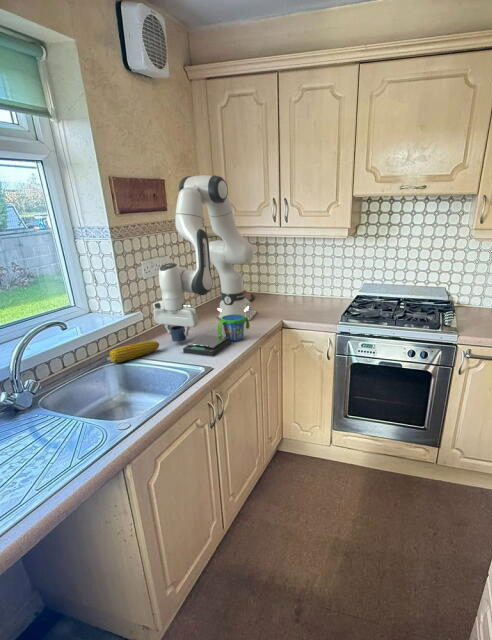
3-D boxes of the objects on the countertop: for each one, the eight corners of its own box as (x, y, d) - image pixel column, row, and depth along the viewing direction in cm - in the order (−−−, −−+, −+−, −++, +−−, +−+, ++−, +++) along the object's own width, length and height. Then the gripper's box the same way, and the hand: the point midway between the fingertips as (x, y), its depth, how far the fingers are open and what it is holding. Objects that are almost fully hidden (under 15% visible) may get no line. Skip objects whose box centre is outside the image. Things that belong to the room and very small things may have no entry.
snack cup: (244, 332, 192) (242, 311, 188) (255, 338, 184) (254, 316, 180) (214, 339, 184) (211, 317, 180) (224, 345, 176) (222, 323, 172)
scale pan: (203, 335, 181) (203, 334, 181) (227, 338, 177) (227, 336, 177) (187, 345, 170) (187, 343, 170) (213, 348, 166) (213, 346, 166)
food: (116, 366, 157) (113, 351, 155) (109, 363, 160) (105, 348, 158) (162, 350, 172) (160, 337, 169) (155, 348, 175) (152, 334, 173)
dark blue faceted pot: (177, 336, 183) (175, 325, 180) (189, 337, 181) (187, 326, 178) (169, 341, 178) (167, 329, 175) (181, 342, 176) (179, 330, 173)
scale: (203, 340, 183) (202, 334, 182) (231, 343, 179) (230, 337, 178) (183, 352, 169) (182, 346, 168) (213, 356, 165) (212, 349, 164)
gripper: (199, 303, 172) (202, 334, 178) (158, 300, 178) (163, 330, 184) (191, 307, 166) (195, 339, 172) (149, 304, 173) (154, 335, 179)
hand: (178, 334), depth 178 cm, fingers closed on dark blue faceted pot, 6 cm apart
